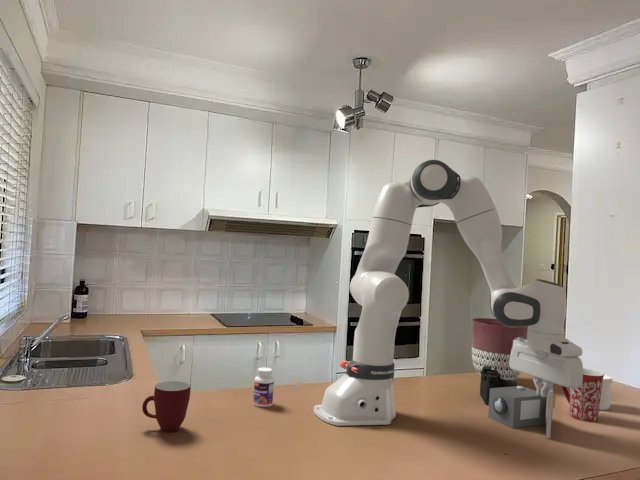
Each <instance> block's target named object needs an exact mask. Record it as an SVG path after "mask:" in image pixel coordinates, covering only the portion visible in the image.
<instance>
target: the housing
mask: <svg viewBox="0 0 640 480" xmlns="http://www.w3.org/2000/svg"><path fill="white" fill-rule="evenodd" d="M547 403H548V396H547V397H542V396H539V395H537V394H536V390H534V389H531V388H529V387H525V386H522V385H517V386H514V387H501V388H490V395H489V406H488V413H487V414H488V416H487V417H488V418H490V419H492V420H494V421H496V422H499V423H500V424H502V425H505V426H507V427H509V428H511V429H516V428H517V429H518V428H525V427H526V426H527V427H534V425H535V426H542V424H543V425H546V420H547Z"/></svg>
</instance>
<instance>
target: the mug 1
mask: <svg viewBox="0 0 640 480" xmlns="http://www.w3.org/2000/svg"><path fill="white" fill-rule="evenodd" d="M190 397H191V384H189V383H187V382H185V381H177V380H175V381H173V380H172V381H171V380H170V381H164V382H163V381H162V382H159V383H157V384H155V386H154V393H153V395H149V396H147V397H146V398H145V399H144V401H143V402H142V407H141V409H142V413H143V414H144V415H145V416H146V417H148V418H151V419H156V422H157V424H158V425H159V427H160V430H161V431H163V432H167V433H168V432H169V433H170V432H171V433H173V432H176V431H179V429H180V428H181V426H182V424H183V423H184V420H185V418H186V415H187V412H188V411H187V410H188V407H189V402H190V399H191V398H190ZM149 402H153V403H154V409H155V410H154V411H155V414H153V413H150V412H149V411H148V403H149Z"/></svg>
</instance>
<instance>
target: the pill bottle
mask: <svg viewBox="0 0 640 480" xmlns="http://www.w3.org/2000/svg"><path fill="white" fill-rule="evenodd" d="M272 375H273V368H270V367H258V368H257V376H255V378H254V382H253V383H254V385H253V397H252V399H253V400H252V404H253V405H254V406H255V407H259V408H267V407H271V406H273V403H274V402H273V400H274V388H275V387H274V386H275V378H274V377H273V376H272Z"/></svg>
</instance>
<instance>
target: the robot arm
mask: <svg viewBox="0 0 640 480" xmlns="http://www.w3.org/2000/svg"><path fill="white" fill-rule="evenodd" d="M375 202H376V203H375V206H374V210H373V213H372V218H371V222H370V227H369V232H368V236H367V240H366V243H365V248H364V250H363V253H362V255H361V258H360V261H359V263H358V265H357V269H356V271H355V274H354V275H353V277H352V278H351V281H350V284H349V292H350V294H351V296H352V298H353V299H354V301H355V302H356V303H357V304H358V305H360V306H362V308H361V313H360V316H359V320H358V324H357V325H356V327H355V330H354V336H353V349H352V350H353V352H352V358H351V360H350V361H349V363H348V361H345V359H344V360H343V359H342V360H340V362H339V367H340V368H341V369H344V370H346V371H345V373H344V374H343V375H341V376H340V377H339V378H338V379H337V380H336V381H334V382H333V383H331V384H330V385H329V386H328V387H326V389H325V391H324V392H323V393H324V394H323V398H322V401H321V404H315V405H314V406H313V413H314V414H315V415H316V417H318V418H319V419H320V420H322V421H323V422H326V423H328V424H330V425H333V426H337V427H338V426H339V427H341V426H344V427H345V426H373V425H374V426H378V425H379V426H380V425H383V426H384V425H388V426H389V425H391V424H392V421H393V420H394V419H395V418H397V417H396V416H397V413H396V409H395V403H394V391H393V389H394V388H393V382H394V377H395V362H394V357H395V341H396V340H395V339H396V334H397V333H396V332H397V328H398V326H399V320H400V318H401V314H402V310H403V309H404V308H405V307H406V306H407V304H408V302H409V299H410V298H409V297H410V293H409V287H408V286H407V284H406V282H404V281H403V279H402V278H400V277H399V276H397V275H396V271H397V270H398V267H399V265H400V263H401V261H402V260H403V258H404V257H405V255H406V253H407V251H408V250H407V249H408V246H409V240H410V235H411V230H412V226H413V222H414V216H415V212H416V211H417V208H427V207H428V208H429V207H433V206H437V205H439V204H440V203H442V204H443V205H445V206H447V207H448V208H449V210H450V212H451V213H452V215H453V219H454V222H455V224H456V227H457V229H458V231H459V234H460V235H461V237H462V239H463V241H464V242H465V244H466V245H467V247H468V248H469V250H471V252H472V253H473V254H474V256H475V257H476V259H477V260H478V262H479V263H480V266H481V269H482V271H483V274H484V276H485V280H486V282H487V285H488V288H489V295H490V296H489V310H490V312H491V314H492V316H493V317H494V319H497V320H498V321H499V322H500V323H501V324H503V325H505V326H508V327H520V326H528V333H527V338H523V337H517V338H515V339H514V340H513V347H512V350H511V355H510V361H509V365H510V368H511V369H512V370H515V371H518V372H521V373H520V374H525V375H528V376H530V377H533V378H532V379H533V380H532V381H533V383H534V386H535V388H536V389H535V391H536V394H537V395H539V396H542V397H547V398H548V390H549V388H550V387H551V385H552V383H554V385H555V384H556V385H558V386H560V387H561V386H564V387H566V388H567V389H570V388H579V387H580V386H581V385H582V381H583V368H584V365H583V362H582V361H583V360H582V359H581V358H580V357H581V356H583V348H582V347H580V346H579V345H577V344H575V343H574V342H572V341H571V340H569V339H568V338H566V337H565V335H566V331H565V326H564V324H565V320H566V318H567V295H566V294H567V293H566V290H565V288H564V287H563V286H562V285H561V284H560V283H556V282H553V281H549V280H546V279H545V280H544V279H541V278H540V279H539V278H537V279H534V280H533V281H531V282H530V283H527V284H524V285H522V286H518V287H516V286H515V285H514V283H513V281H512V279H511V276H510V274H509V271H508V267H507V265H506V263H505V260H504V257H503V251H502V239H503V229H502V223H501V219H500V216H499V213H498V210H497V209H496V205H495V203H494V201H493V199H492V196H491V195H490V193H489V191H488V189H487V188H486V186H485V185H484V183H483V182H482V180H481V179H480V178H478V177H476V176H469V175H467V176H463V177H461V176H460V174H459V173H458V172H456V171H455V170H454V169H452V168H451V167H450V166H449V165H448V164H447V163H445V162H443V161H442V160H438V159H428V160H425V161H423V162H421V163H419V165H417V167H415V169H414V171H413V173H412V175H411V176H410V179H409V180H407V181H406V182H401V181H393V182H391V181H390V182H388V183H386V184H385V185H383V187H382V188H381V190H380V191H379V195H378V197H377V199H376V201H375ZM516 339H517V340H516Z"/></svg>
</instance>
